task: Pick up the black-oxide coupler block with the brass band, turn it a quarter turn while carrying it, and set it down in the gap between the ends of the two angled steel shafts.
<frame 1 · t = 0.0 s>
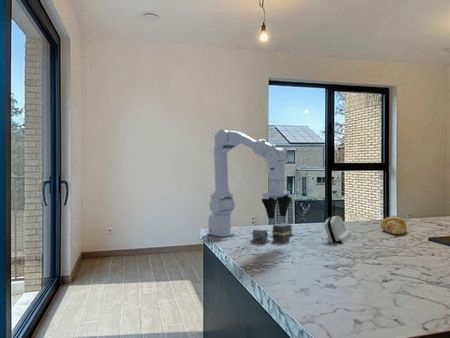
hand: (277, 217, 133), 10 cm above the counter, tool pointing down, fingers open, 7 cm apart
coupler: (281, 240, 140), on the counter
bread loaf: (393, 232, 157), on the counter
shaft b: (261, 240, 140), on the counter
shaft a: (281, 235, 150), on the counter
hinge: (337, 239, 142), on the counter
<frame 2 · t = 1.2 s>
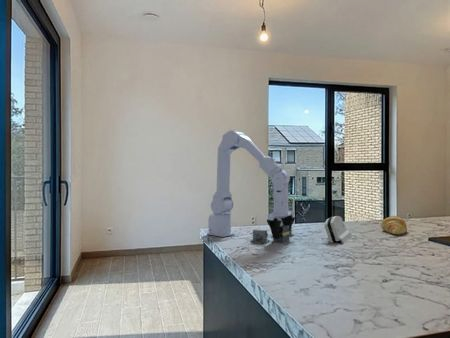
hand: (281, 236, 140), 1 cm above the counter, tool pointing down, fingers open, 7 cm apart
nothing on the counter moved.
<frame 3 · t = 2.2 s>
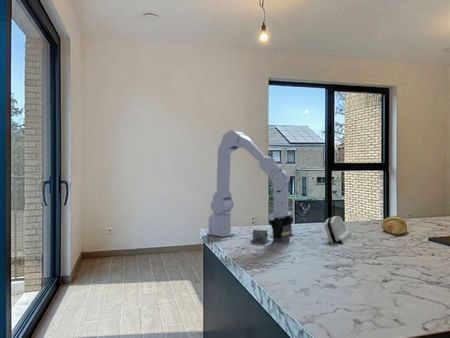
hand: (281, 236, 140), 1 cm above the counter, tool pointing down, fingers closed on coupler, 5 cm apart
coupler: (281, 240, 140), on the counter, touching gripper
everything else where it was.
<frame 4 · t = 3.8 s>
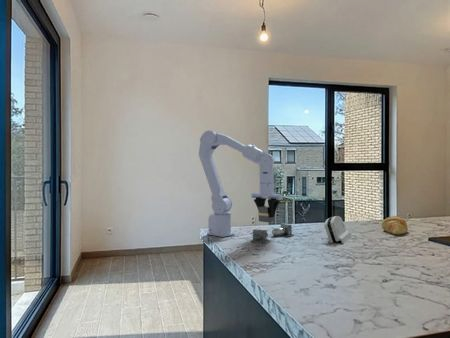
hand: (266, 216, 147), 8 cm above the counter, tool pointing down, fingers closed on coupler, 5 cm apart
coupler: (266, 221, 147), point 7 cm above the counter, touching gripper
everything else where it was.
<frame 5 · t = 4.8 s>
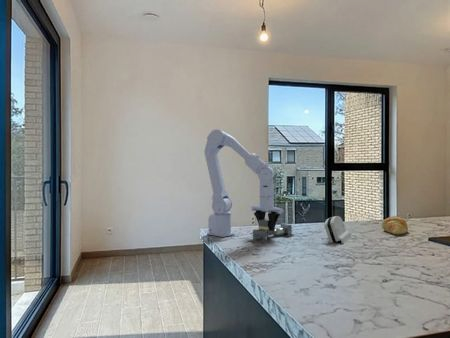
hand: (266, 229, 147), 3 cm above the counter, tool pointing down, fingers closed on coupler, 5 cm apart
coupler: (266, 234, 147), point 1 cm above the counter, touching gripper
everything else where it was.
when the fingers open (3 cm above the counter, at t = 5.6 s): coupler drops 1 cm, on the counter.
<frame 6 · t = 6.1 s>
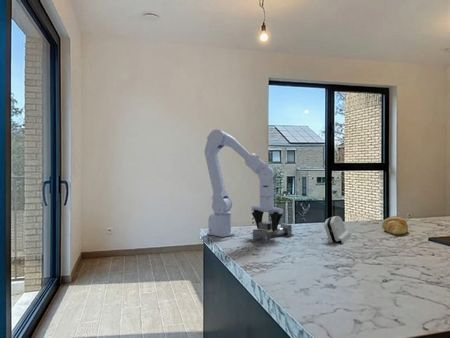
hand: (266, 229, 147), 3 cm above the counter, tool pointing down, fingers open, 7 cm apart
coupler: (266, 237, 147), on the counter
everything else where it was.
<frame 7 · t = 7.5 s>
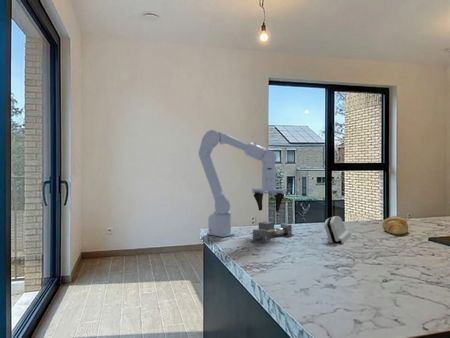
hand: (268, 210, 153), 10 cm above the counter, tool pointing down, fingers open, 7 cm apart
nothing on the counter moved.
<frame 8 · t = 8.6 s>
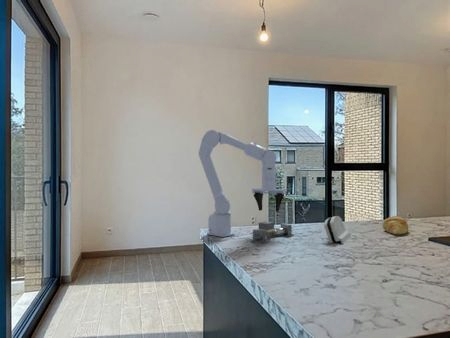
hand: (268, 210, 153), 10 cm above the counter, tool pointing down, fingers open, 7 cm apart
nothing on the counter moved.
at the end: coupler 0.3 cm from the target spot, on the counter; coupler tilted 0°; the gripper is holding nothing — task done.
